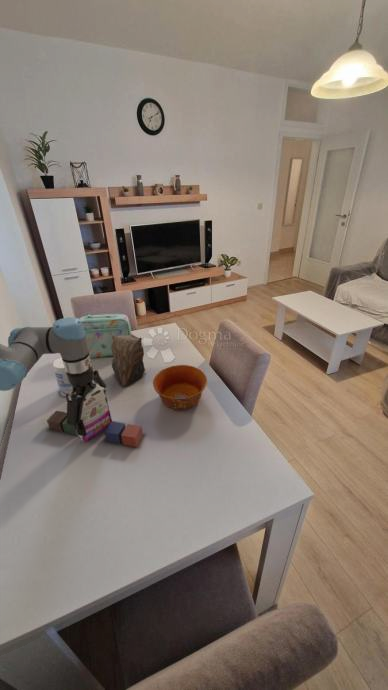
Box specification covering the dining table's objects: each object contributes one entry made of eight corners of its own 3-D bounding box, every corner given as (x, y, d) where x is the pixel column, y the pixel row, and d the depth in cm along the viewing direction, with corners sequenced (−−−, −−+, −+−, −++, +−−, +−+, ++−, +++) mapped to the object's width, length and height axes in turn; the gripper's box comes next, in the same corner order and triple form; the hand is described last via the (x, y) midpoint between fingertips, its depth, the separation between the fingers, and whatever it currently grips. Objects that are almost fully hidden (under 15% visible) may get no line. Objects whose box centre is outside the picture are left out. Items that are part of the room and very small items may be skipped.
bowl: (157, 422, 101) (155, 401, 96) (152, 386, 119) (150, 367, 114) (212, 414, 105) (213, 393, 100) (199, 380, 123) (200, 361, 118)
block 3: (106, 442, 93) (104, 431, 91) (113, 431, 97) (111, 420, 95) (120, 445, 92) (118, 434, 90) (126, 433, 96) (125, 423, 94)
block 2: (65, 433, 96) (61, 423, 94) (73, 423, 101) (70, 413, 98) (77, 436, 95) (74, 426, 93) (86, 425, 100) (83, 415, 97)
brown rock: (112, 374, 127) (105, 336, 117) (137, 365, 133) (133, 328, 123) (123, 388, 118) (116, 348, 108) (149, 378, 124) (145, 339, 114)
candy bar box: (105, 417, 101) (97, 381, 92) (113, 424, 98) (105, 388, 89) (76, 435, 93) (64, 398, 85) (83, 443, 90) (72, 405, 82)
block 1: (50, 430, 98) (46, 420, 95) (59, 420, 102) (56, 410, 99) (62, 433, 97) (59, 423, 94) (71, 422, 101) (68, 412, 98)
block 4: (123, 445, 92) (121, 435, 90) (129, 434, 96) (127, 423, 94) (137, 448, 91) (135, 437, 88) (142, 436, 95) (141, 426, 93)
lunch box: (78, 361, 136) (68, 322, 126) (81, 350, 145) (72, 313, 134) (133, 355, 141) (128, 317, 130) (133, 345, 150) (128, 308, 139)
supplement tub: (58, 399, 112) (48, 369, 105) (63, 384, 120) (55, 356, 113) (83, 396, 114) (75, 366, 106) (86, 382, 122) (79, 354, 114)
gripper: (65, 395, 72) (82, 451, 82) (110, 349, 92) (119, 399, 103) (40, 391, 73) (60, 447, 84) (89, 346, 93) (101, 396, 104)
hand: (92, 420), depth 93 cm, fingers closed on candy bar box, 12 cm apart
